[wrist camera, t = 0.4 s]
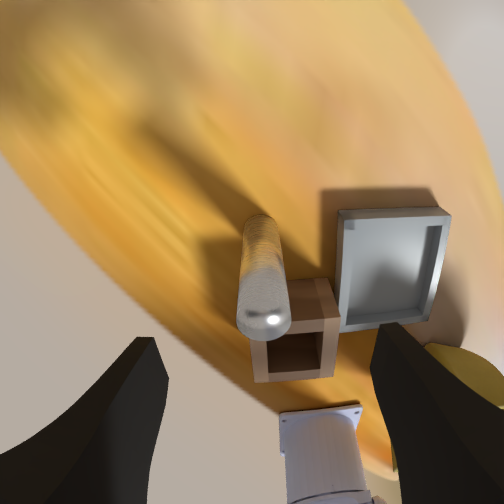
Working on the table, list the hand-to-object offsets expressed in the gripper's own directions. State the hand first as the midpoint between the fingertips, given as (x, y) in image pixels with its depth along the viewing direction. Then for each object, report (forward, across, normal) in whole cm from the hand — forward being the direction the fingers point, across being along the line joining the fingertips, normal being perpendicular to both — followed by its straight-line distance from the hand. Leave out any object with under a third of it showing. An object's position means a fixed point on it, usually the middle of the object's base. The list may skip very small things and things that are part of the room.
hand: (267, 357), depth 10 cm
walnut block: (+10, -1, +6) cm, 12 cm away
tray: (+10, -8, +3) cm, 13 cm away
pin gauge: (+10, 0, 0) cm, 10 cm away
